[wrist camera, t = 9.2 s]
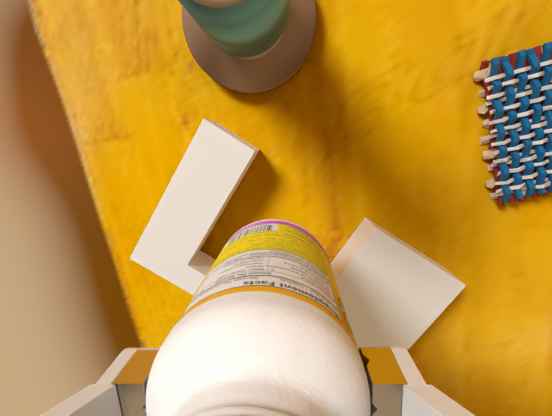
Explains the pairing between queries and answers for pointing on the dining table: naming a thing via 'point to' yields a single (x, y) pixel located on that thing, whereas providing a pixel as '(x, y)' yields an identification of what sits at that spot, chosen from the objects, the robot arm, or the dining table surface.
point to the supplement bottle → (262, 335)
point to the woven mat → (518, 123)
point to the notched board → (346, 265)
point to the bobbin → (249, 40)
